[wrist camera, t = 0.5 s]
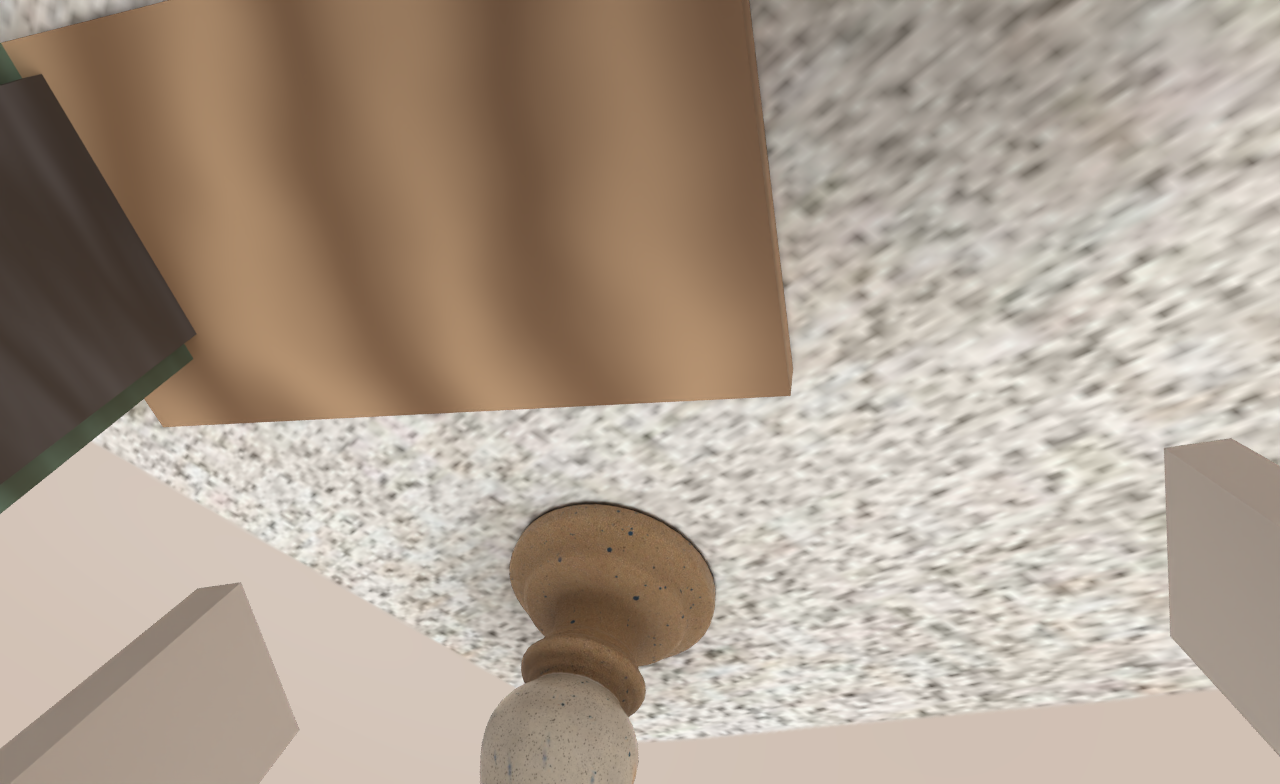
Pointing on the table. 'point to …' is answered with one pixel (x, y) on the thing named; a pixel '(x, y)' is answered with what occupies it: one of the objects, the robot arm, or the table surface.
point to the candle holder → (592, 642)
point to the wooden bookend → (380, 214)
